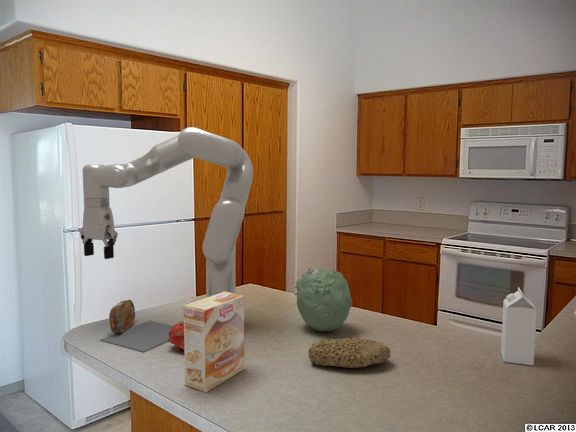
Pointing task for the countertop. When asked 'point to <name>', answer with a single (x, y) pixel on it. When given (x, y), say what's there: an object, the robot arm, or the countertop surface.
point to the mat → (141, 336)
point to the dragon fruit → (177, 335)
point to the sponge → (348, 352)
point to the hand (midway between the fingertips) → (98, 256)
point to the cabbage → (323, 299)
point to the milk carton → (518, 329)
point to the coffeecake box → (213, 340)
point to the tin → (122, 316)
